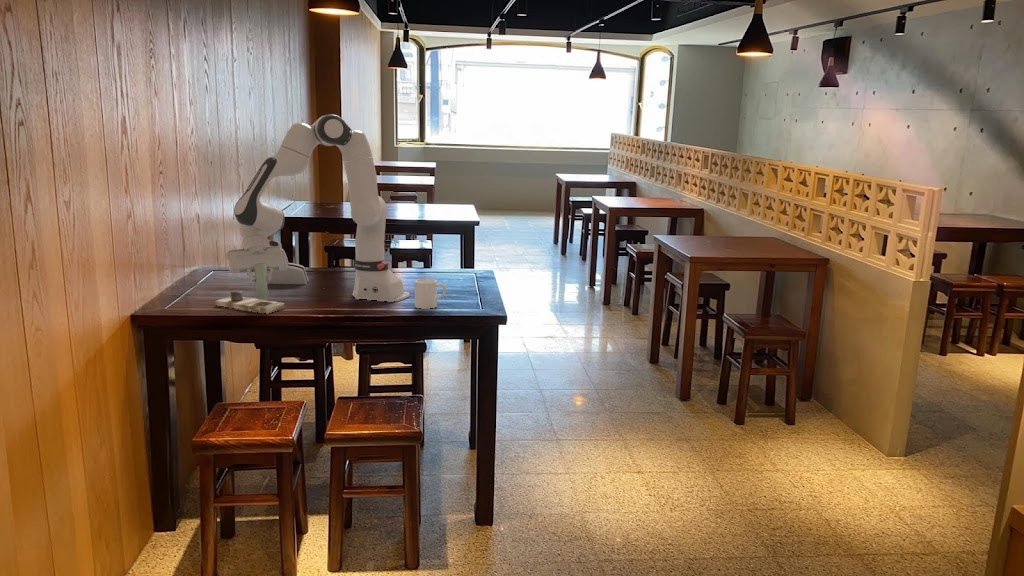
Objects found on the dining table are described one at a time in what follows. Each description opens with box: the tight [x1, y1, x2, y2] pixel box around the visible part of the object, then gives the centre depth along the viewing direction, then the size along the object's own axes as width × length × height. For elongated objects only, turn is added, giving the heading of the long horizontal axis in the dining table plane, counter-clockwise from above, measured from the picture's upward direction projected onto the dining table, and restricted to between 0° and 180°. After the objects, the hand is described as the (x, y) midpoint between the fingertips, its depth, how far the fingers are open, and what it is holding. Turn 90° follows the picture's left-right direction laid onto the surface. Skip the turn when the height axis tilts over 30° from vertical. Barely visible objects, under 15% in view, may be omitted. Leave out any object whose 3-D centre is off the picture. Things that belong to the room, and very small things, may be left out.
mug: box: [414, 278, 448, 310], centre depth 273 cm, size 8×12×10 cm, turn 86°
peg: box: [254, 263, 269, 300], centre depth 263 cm, size 4×4×12 cm
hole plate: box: [214, 290, 286, 315], centre depth 267 cm, size 24×9×5 cm, turn 67°
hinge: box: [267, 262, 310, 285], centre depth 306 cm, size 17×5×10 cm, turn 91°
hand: (261, 280), depth 262 cm, fingers closed on peg, 4 cm apart
